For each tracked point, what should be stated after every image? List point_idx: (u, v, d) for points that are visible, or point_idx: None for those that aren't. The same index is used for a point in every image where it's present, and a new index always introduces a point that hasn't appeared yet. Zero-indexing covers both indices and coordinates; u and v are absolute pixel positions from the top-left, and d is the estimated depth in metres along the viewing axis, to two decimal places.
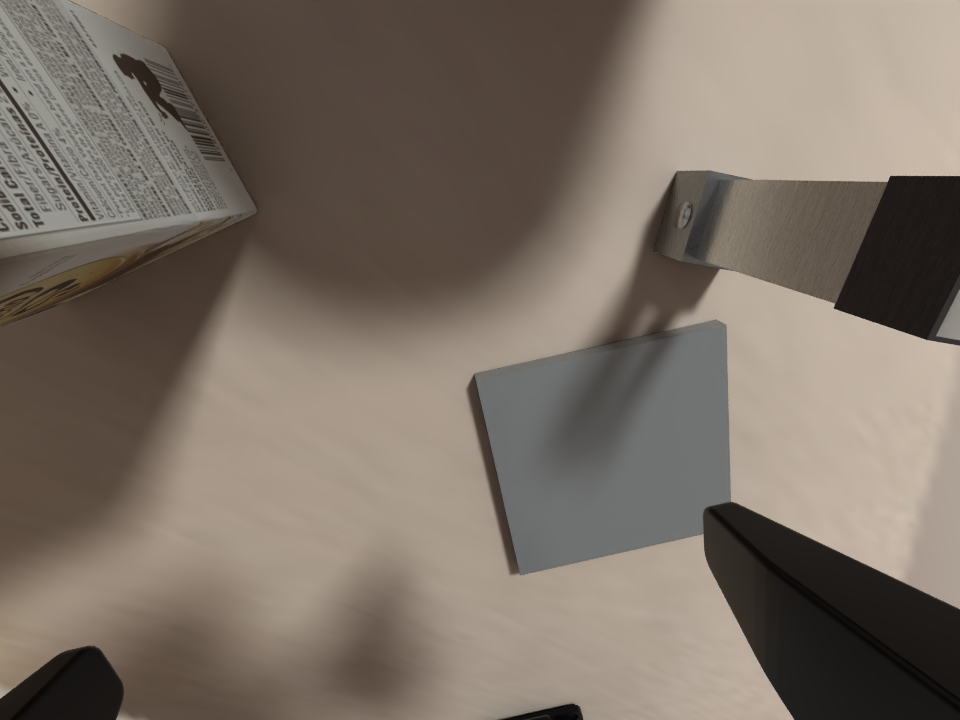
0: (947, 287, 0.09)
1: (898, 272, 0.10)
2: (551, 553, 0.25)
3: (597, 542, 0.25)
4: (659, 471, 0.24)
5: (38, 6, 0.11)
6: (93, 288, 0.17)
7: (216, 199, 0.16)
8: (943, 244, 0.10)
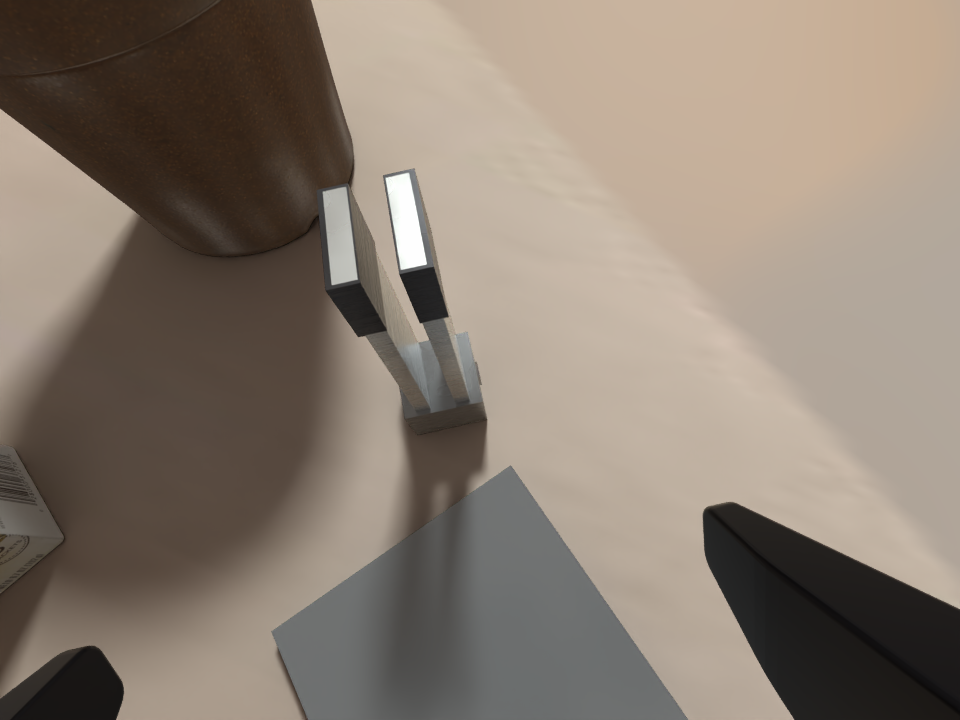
0: (324, 256, 0.12)
1: None
2: None
3: None
4: (539, 677, 0.17)
5: None
6: None
7: None
8: None
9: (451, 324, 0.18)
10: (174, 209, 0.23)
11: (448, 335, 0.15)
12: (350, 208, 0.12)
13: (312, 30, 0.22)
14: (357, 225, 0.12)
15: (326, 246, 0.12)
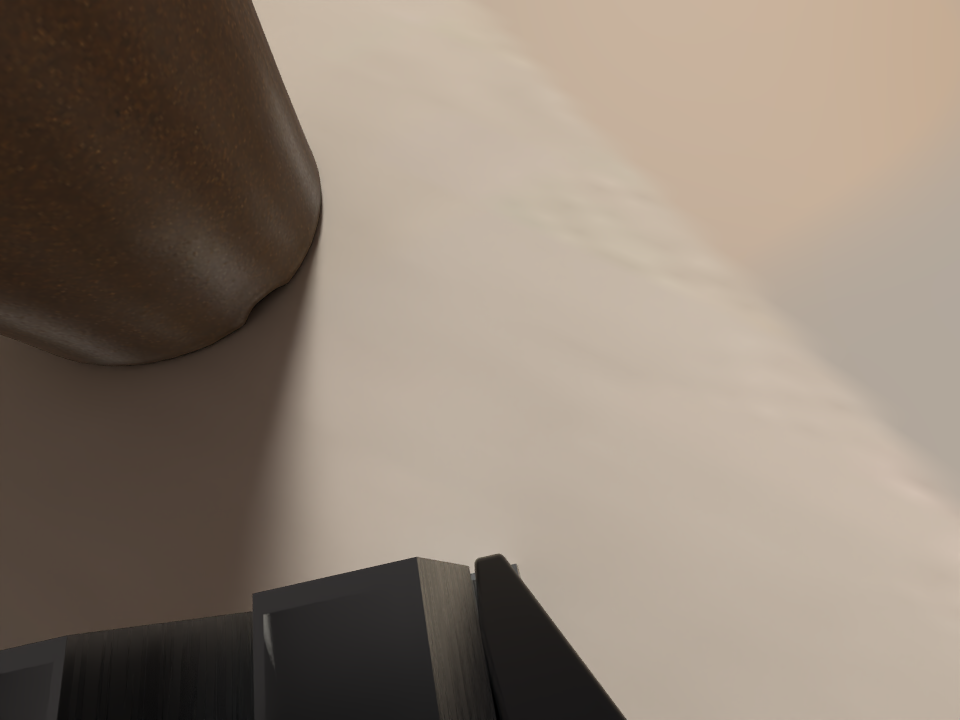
0: None
1: None
2: None
3: None
4: None
5: None
6: None
7: None
8: None
9: None
10: None
11: None
12: None
13: None
14: None
15: None
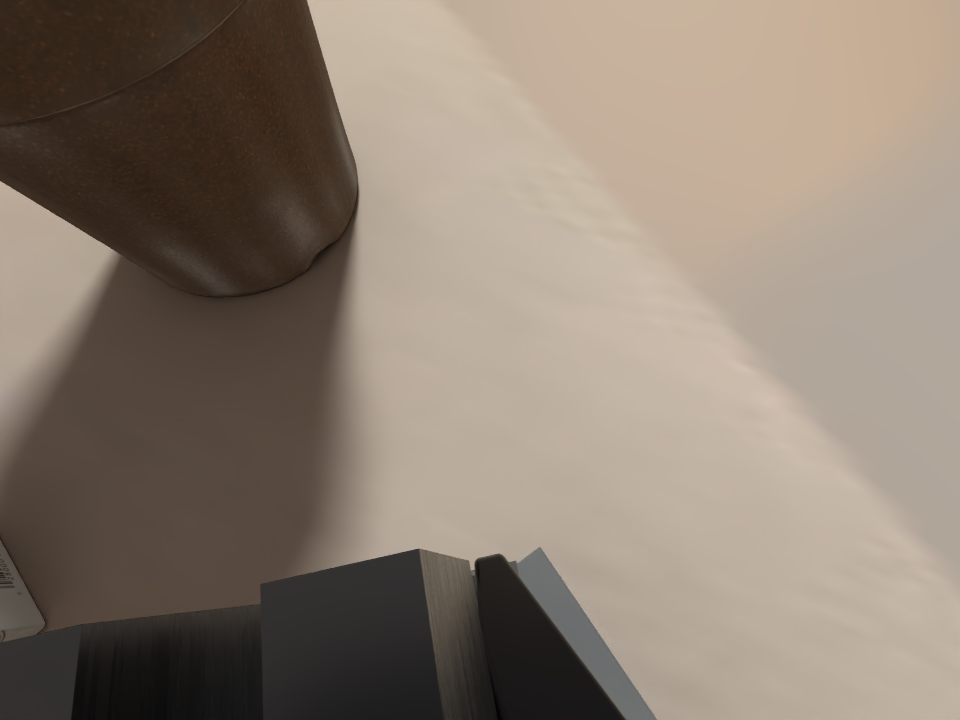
0: None
1: None
2: None
3: None
4: None
5: None
6: None
7: None
8: None
9: None
10: (161, 255, 0.20)
11: None
12: None
13: (314, 54, 0.19)
14: None
15: None
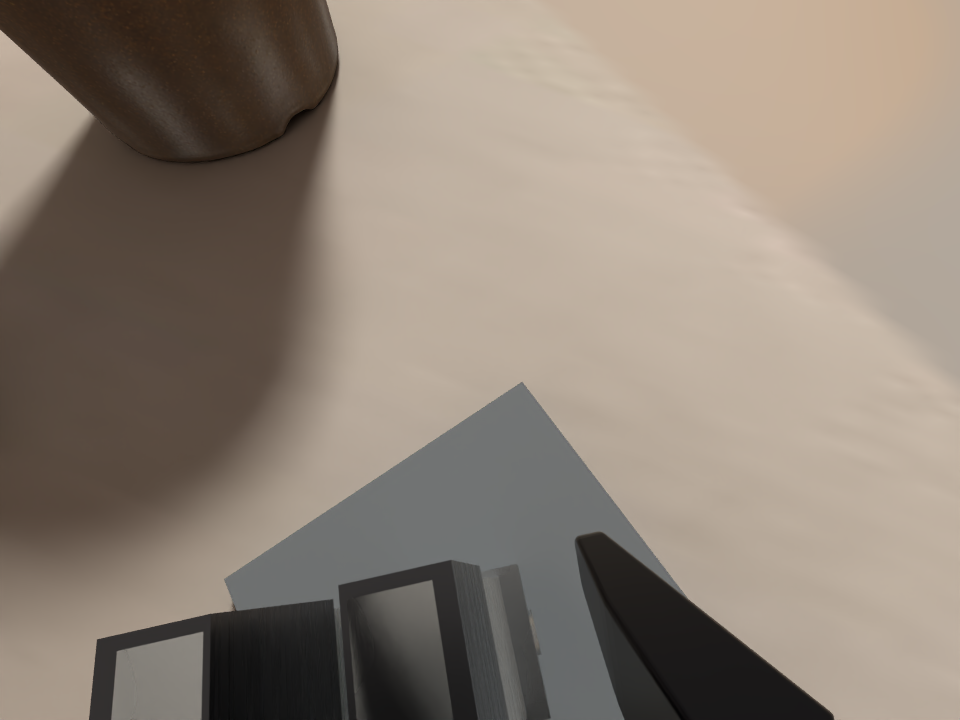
0: None
1: None
2: None
3: None
4: (561, 633, 0.14)
5: None
6: None
7: None
8: None
9: (500, 619, 0.09)
10: (118, 84, 0.19)
11: None
12: None
13: None
14: None
15: None
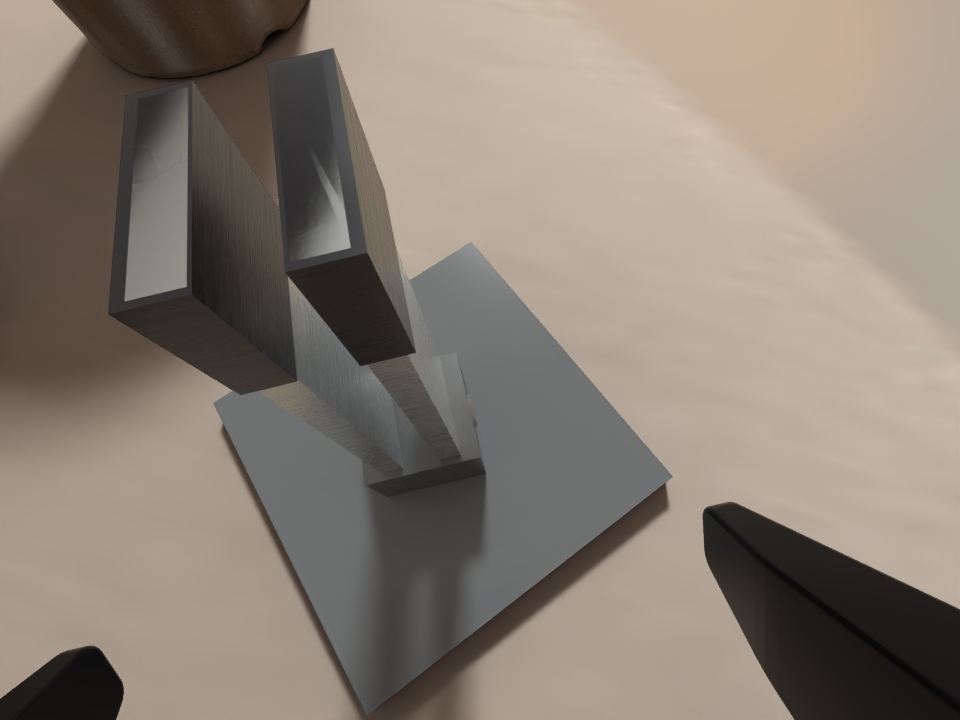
0: (122, 235, 0.05)
1: None
2: (403, 641, 0.14)
3: (471, 588, 0.14)
4: (499, 429, 0.16)
5: None
6: None
7: None
8: None
9: (430, 347, 0.12)
10: None
11: (419, 379, 0.08)
12: (192, 130, 0.06)
13: None
14: (215, 170, 0.06)
15: (126, 211, 0.05)
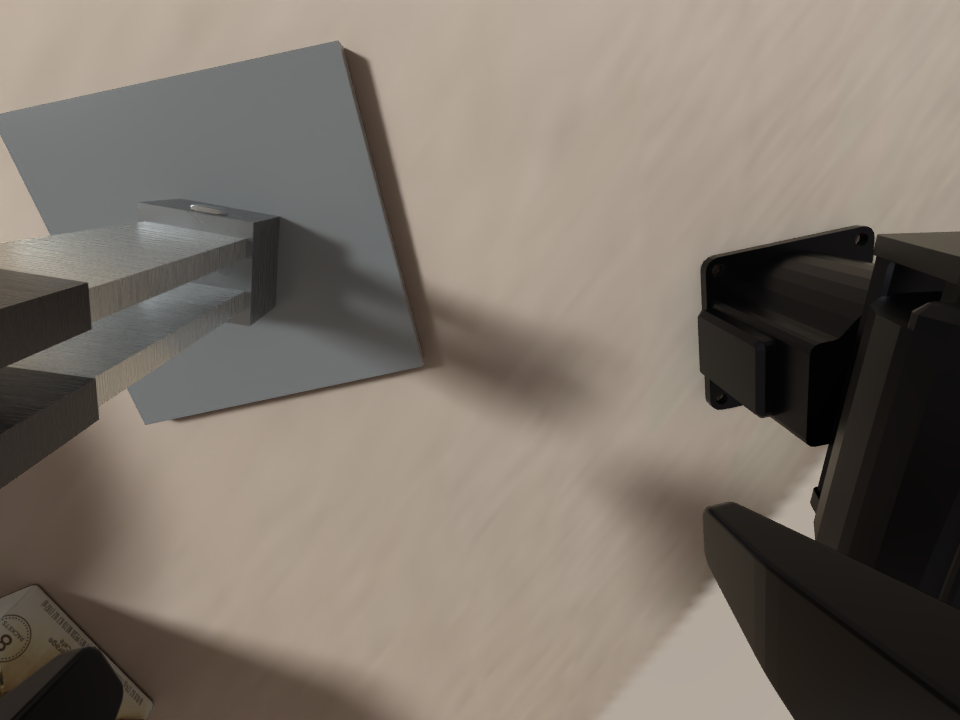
0: None
1: None
2: (387, 328, 0.19)
3: (369, 266, 0.18)
4: (241, 185, 0.17)
5: None
6: None
7: None
8: None
9: (115, 236, 0.12)
10: None
11: (128, 276, 0.09)
12: None
13: None
14: None
15: None
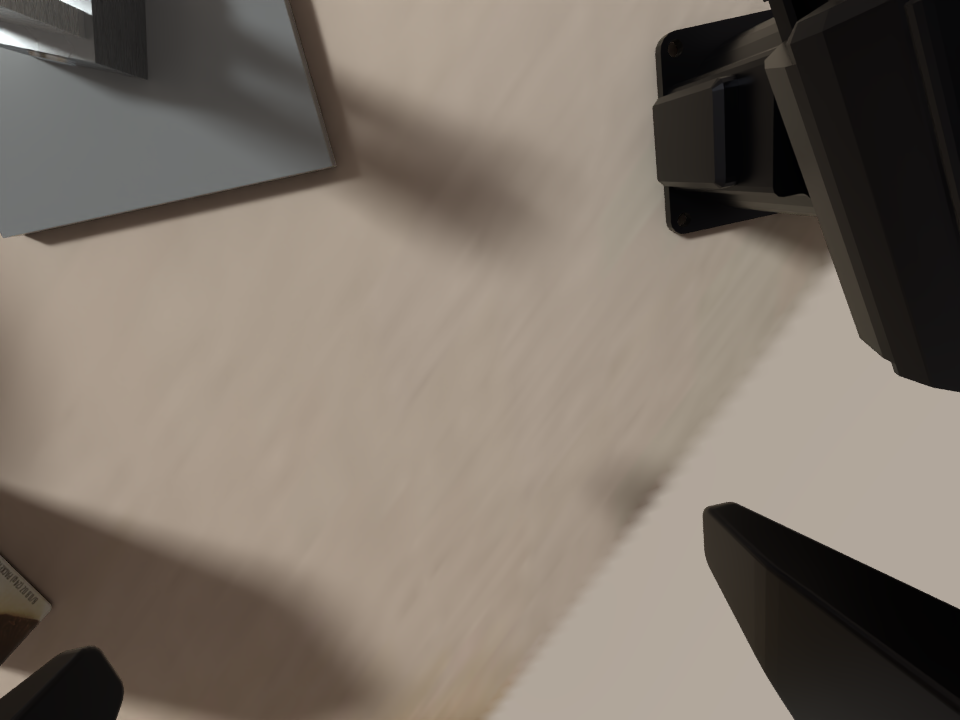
0: None
1: None
2: (286, 114, 0.16)
3: (258, 27, 0.15)
4: None
5: None
6: None
7: None
8: None
9: None
10: None
11: None
12: None
13: None
14: None
15: None
